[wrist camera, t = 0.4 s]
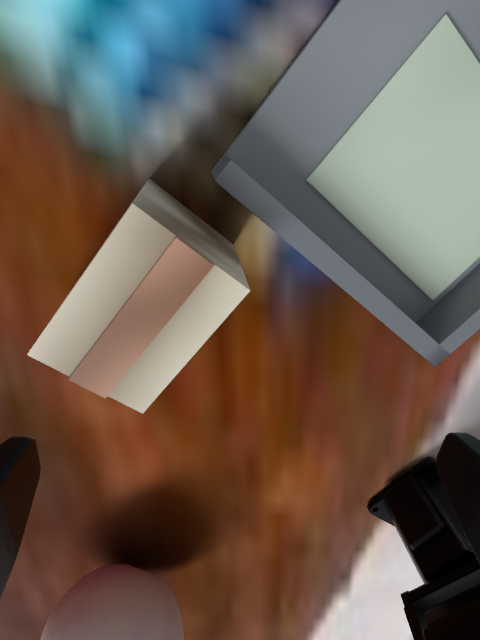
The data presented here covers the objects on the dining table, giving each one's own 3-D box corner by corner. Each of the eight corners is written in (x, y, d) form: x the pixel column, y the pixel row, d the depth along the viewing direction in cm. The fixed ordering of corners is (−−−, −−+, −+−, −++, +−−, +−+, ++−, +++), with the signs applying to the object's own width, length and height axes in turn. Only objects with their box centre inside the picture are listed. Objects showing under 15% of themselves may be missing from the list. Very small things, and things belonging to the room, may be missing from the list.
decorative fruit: (207, 549, 31) (216, 724, 22) (150, 602, 33) (137, 778, 24) (99, 510, 27) (57, 700, 18) (44, 573, 30) (-16, 766, 21)
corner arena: (679, 88, 18) (761, 83, 16) (407, 338, 23) (435, 366, 21) (527, -253, 13) (616, -351, 10) (210, 171, 18) (214, 181, 15)
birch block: (233, 244, 19) (251, 292, 14) (153, 341, 21) (142, 416, 16) (149, 177, 18) (131, 204, 12) (70, 291, 20) (25, 357, 14)
